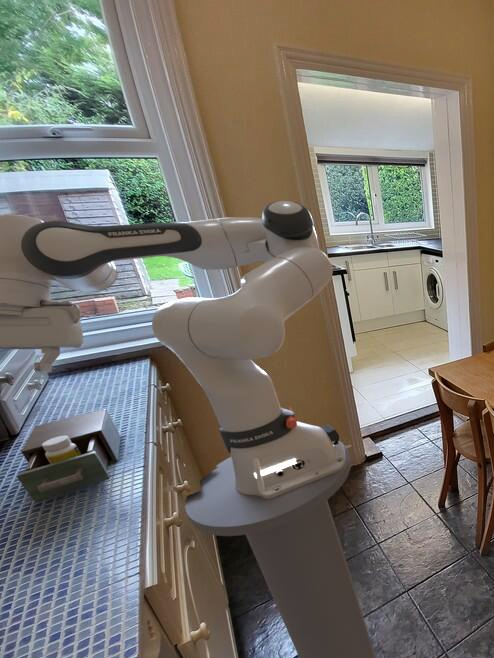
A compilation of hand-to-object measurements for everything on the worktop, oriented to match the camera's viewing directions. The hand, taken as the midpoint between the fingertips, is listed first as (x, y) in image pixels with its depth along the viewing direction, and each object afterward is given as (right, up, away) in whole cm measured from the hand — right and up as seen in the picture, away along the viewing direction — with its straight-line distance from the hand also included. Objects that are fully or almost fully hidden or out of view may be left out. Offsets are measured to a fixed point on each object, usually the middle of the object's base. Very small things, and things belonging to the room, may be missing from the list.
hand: (13, 372), depth 77 cm
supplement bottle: (-2, -22, +13) cm, 25 cm away
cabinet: (-9, -20, +21) cm, 31 cm away
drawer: (-1, -23, +12) cm, 26 cm away
